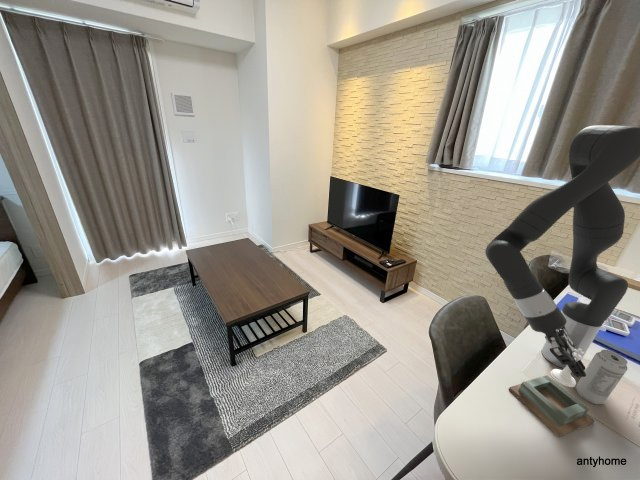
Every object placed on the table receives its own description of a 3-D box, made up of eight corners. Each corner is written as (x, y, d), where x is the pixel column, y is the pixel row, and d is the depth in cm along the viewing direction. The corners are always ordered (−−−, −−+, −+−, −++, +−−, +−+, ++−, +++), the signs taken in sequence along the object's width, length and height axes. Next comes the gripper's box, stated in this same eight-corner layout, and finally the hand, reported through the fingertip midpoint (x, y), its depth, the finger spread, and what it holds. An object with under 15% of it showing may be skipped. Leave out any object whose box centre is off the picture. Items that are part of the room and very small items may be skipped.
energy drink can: (598, 393, 74) (624, 354, 69) (606, 410, 70) (635, 369, 64) (571, 383, 77) (594, 344, 72) (577, 398, 72) (603, 358, 67)
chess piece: (550, 367, 69) (566, 338, 66) (574, 378, 67) (592, 348, 63) (550, 379, 66) (567, 349, 62) (576, 391, 63) (595, 360, 59)
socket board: (540, 379, 77) (545, 370, 76) (593, 422, 66) (600, 412, 64) (508, 389, 74) (513, 379, 72) (559, 436, 62) (566, 426, 61)
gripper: (555, 317, 59) (603, 390, 56) (556, 294, 69) (598, 355, 66) (518, 324, 64) (561, 391, 61) (525, 302, 74) (562, 359, 71)
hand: (580, 372), depth 63 cm, fingers closed on chess piece
